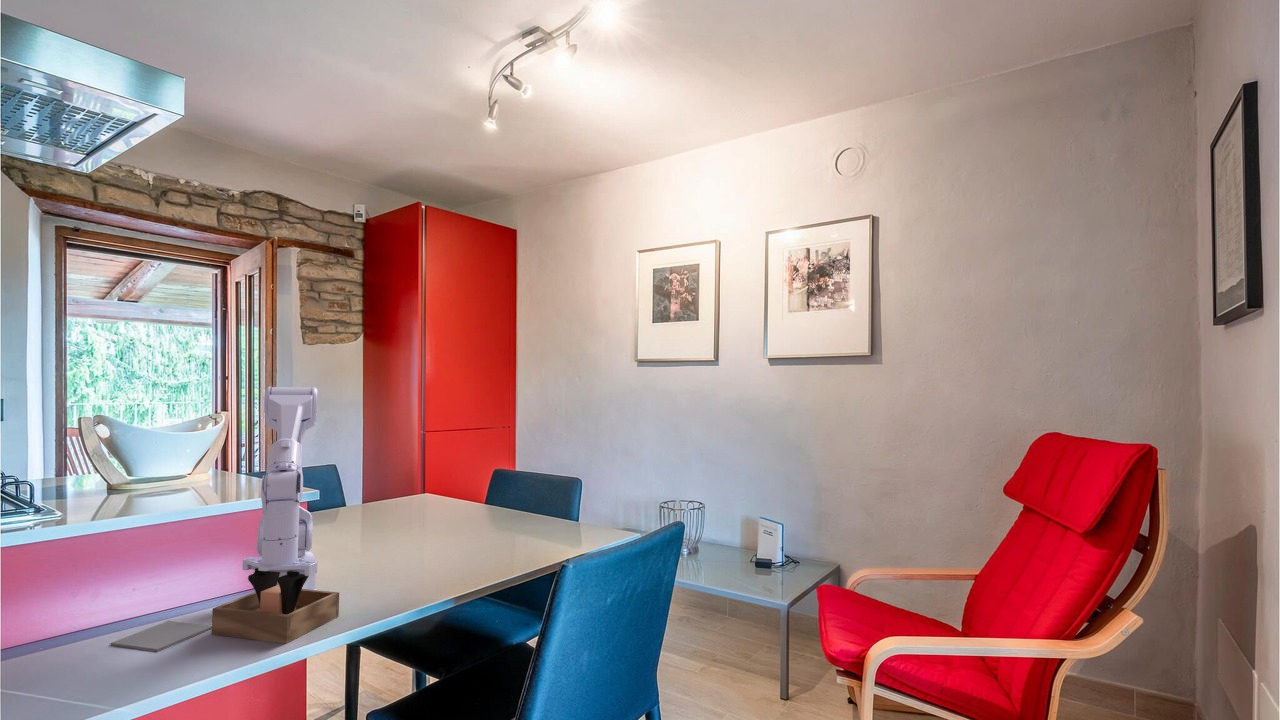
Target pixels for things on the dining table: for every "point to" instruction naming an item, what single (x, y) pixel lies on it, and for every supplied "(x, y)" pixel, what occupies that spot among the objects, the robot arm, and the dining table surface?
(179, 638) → the slate mat
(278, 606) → the terracotta block
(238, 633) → the walnut box
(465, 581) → the dining table surface
